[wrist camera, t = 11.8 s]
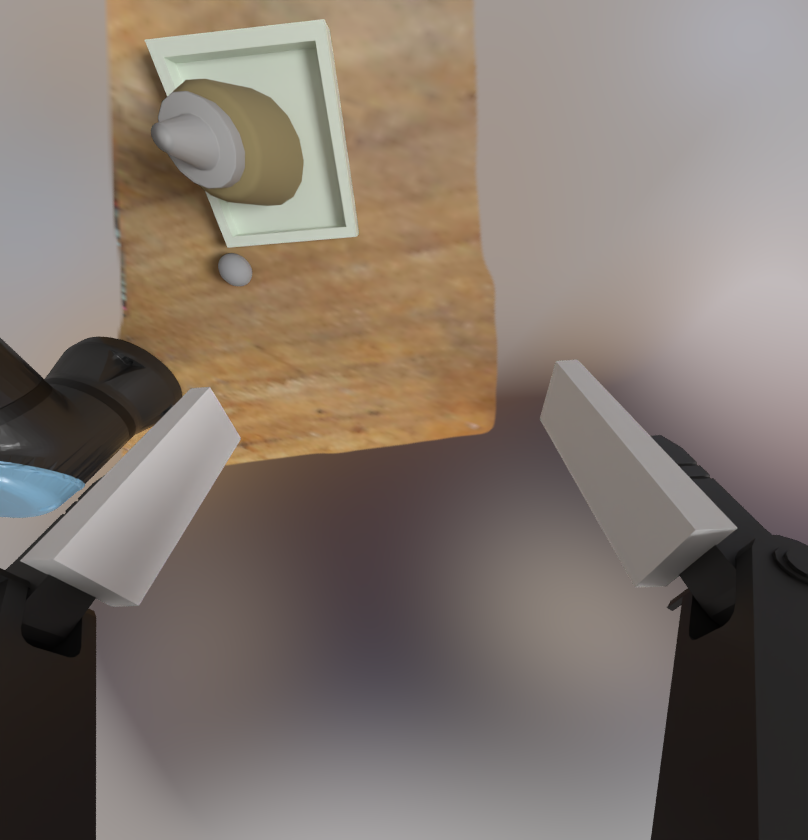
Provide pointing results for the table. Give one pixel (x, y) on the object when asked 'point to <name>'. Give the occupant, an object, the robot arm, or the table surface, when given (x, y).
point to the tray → (306, 108)
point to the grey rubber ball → (235, 269)
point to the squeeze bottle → (231, 142)
